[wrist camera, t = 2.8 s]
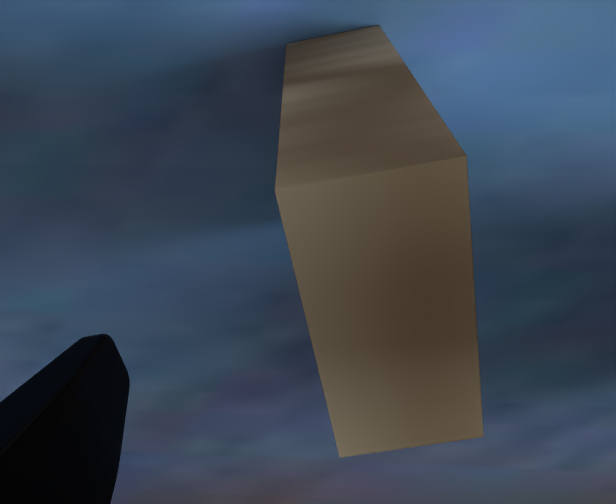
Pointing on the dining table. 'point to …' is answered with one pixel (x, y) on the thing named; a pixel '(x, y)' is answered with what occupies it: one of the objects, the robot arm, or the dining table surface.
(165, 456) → the dining table surface
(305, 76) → the wood grain block
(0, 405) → the robot arm
